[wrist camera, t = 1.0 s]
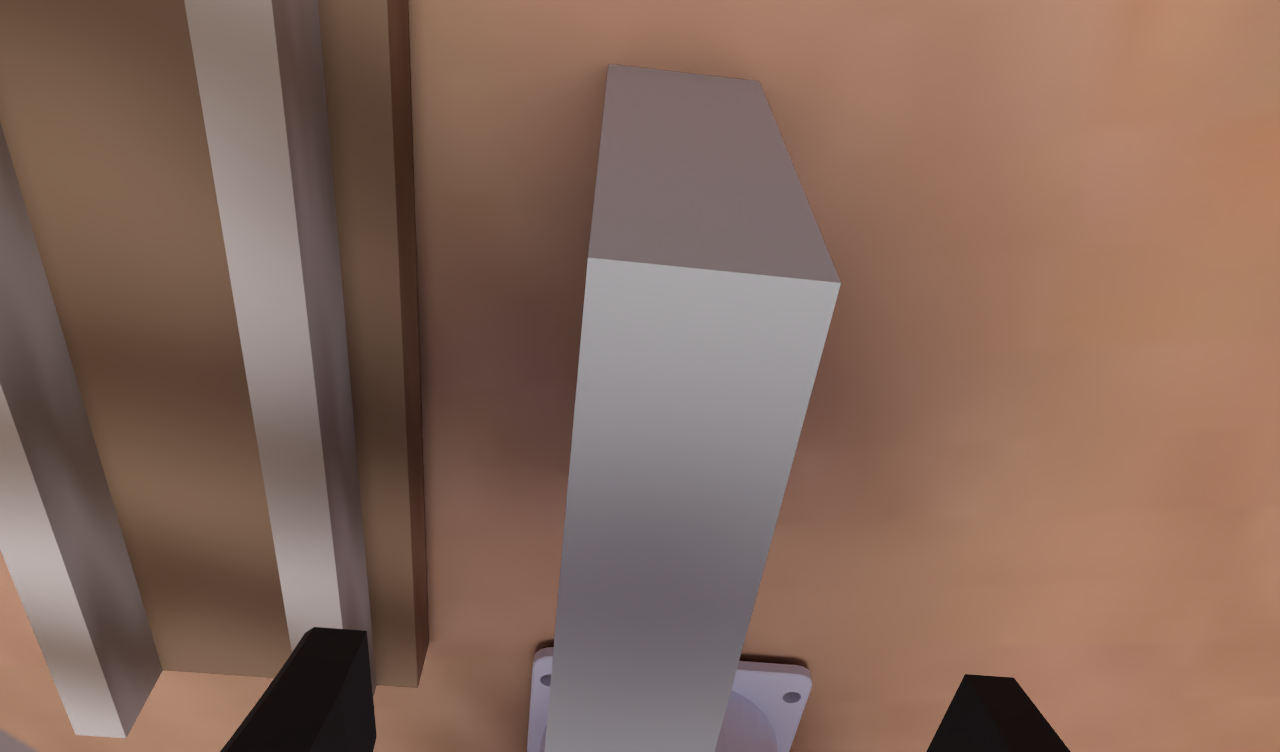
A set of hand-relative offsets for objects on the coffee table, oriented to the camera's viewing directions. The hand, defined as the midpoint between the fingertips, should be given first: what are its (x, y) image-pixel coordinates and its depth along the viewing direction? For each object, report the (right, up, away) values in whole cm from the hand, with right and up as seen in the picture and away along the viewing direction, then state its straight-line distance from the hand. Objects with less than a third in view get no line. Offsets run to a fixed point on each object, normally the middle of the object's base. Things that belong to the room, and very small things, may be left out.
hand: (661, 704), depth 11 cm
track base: (-10, +4, +9) cm, 14 cm away
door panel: (0, +6, +8) cm, 10 cm away
